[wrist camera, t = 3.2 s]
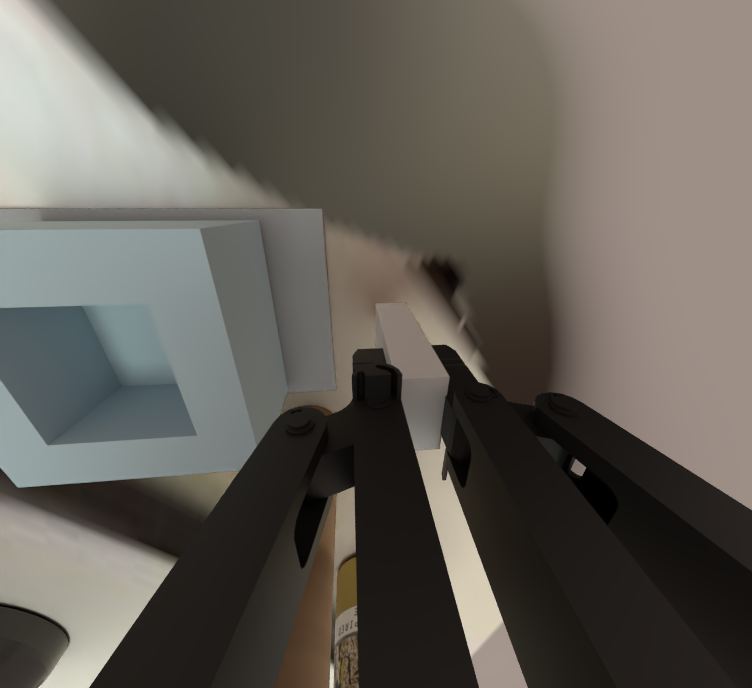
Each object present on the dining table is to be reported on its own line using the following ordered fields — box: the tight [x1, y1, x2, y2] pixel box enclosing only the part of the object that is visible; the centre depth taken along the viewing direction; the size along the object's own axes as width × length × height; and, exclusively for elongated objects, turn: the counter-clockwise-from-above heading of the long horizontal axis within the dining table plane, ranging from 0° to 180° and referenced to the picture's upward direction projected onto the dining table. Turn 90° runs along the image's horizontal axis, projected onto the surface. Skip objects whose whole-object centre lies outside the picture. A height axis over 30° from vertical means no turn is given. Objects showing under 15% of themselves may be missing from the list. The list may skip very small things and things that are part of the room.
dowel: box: [274, 406, 337, 688], centre depth 12 cm, size 4×4×18 cm
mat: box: [0, 209, 336, 393], centre depth 15 cm, size 23×11×1 cm, turn 90°
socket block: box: [0, 220, 288, 488], centre depth 12 cm, size 10×10×6 cm
